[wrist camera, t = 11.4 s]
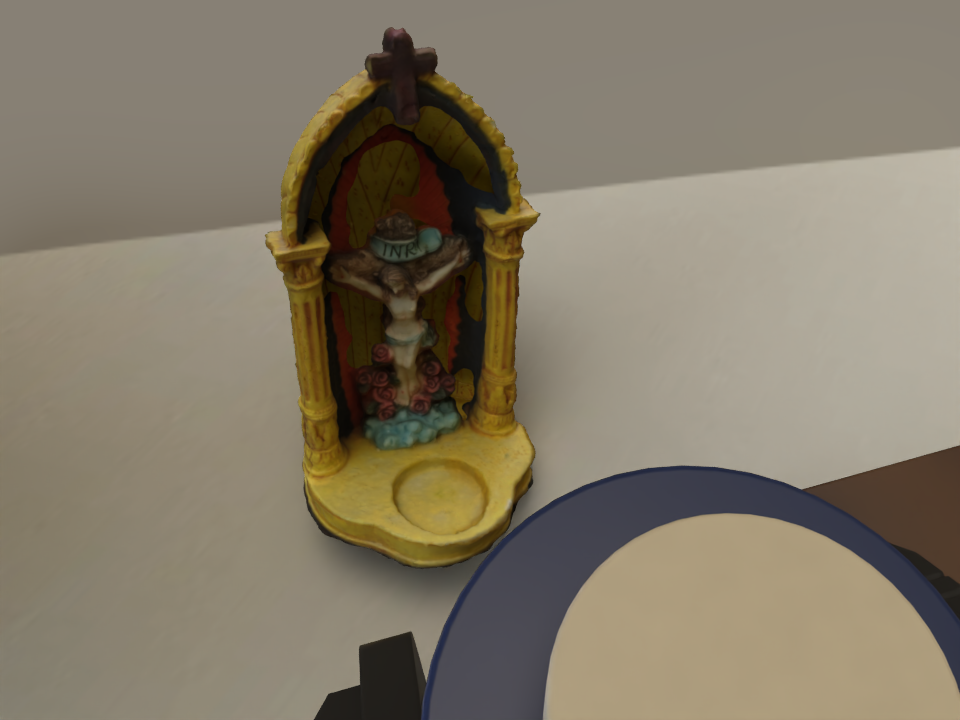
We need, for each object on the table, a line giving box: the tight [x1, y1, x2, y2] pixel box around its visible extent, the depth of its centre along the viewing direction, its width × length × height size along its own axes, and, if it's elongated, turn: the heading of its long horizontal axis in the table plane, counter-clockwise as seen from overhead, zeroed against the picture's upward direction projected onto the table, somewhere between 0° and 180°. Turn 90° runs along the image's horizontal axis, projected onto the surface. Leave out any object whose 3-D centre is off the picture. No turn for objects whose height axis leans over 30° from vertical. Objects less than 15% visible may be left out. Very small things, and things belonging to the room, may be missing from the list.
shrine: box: [265, 27, 541, 569], centre depth 27 cm, size 12×8×15 cm
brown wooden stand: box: [802, 446, 960, 584], centre depth 26 cm, size 12×10×6 cm
